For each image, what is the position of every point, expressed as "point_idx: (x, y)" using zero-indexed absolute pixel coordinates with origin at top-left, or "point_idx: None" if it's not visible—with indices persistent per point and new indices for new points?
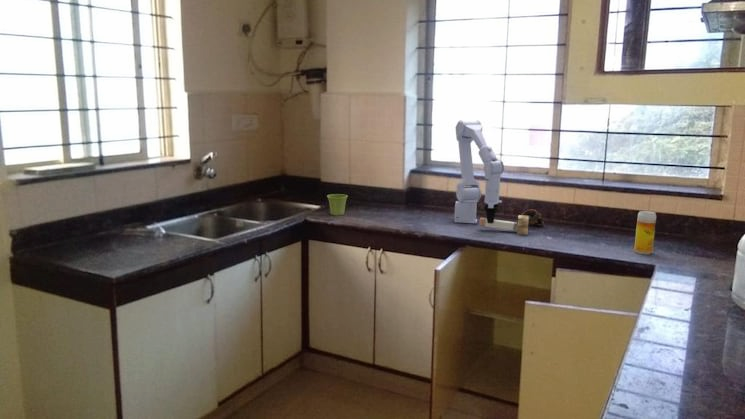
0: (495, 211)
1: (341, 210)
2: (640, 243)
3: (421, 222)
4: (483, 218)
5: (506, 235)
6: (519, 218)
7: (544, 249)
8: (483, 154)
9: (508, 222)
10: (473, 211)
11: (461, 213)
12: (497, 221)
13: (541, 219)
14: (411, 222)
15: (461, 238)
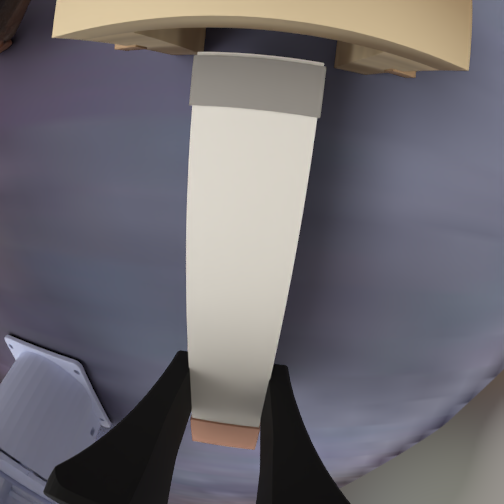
0: (340, 495)
1: None
2: None
3: (173, 478)
4: (217, 434)
5: (433, 204)
6: (466, 44)
7: None
8: None
9: (273, 206)
10: (41, 420)
11: (78, 442)
12: (276, 346)
13: None
14: (186, 488)
15: (445, 420)
